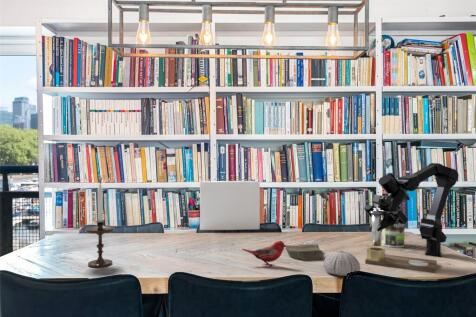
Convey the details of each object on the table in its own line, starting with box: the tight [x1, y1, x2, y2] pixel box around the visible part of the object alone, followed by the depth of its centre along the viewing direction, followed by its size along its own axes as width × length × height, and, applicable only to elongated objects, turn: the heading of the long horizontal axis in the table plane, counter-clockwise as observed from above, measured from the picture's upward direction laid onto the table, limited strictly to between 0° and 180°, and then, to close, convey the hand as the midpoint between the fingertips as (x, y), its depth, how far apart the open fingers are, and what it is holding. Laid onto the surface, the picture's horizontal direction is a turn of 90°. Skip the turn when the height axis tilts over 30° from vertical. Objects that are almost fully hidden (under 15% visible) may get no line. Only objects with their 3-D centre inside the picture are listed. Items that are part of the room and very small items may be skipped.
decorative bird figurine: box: [241, 240, 288, 267], centre depth 152 cm, size 3×18×10 cm, turn 81°
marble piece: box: [285, 243, 323, 261], centre depth 168 cm, size 17×15×4 cm
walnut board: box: [364, 253, 438, 273], centre depth 155 cm, size 13×25×2 cm, turn 60°
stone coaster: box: [408, 260, 428, 266], centre depth 150 cm, size 7×7×1 cm
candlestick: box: [85, 176, 116, 269], centre depth 154 cm, size 11×11×35 cm
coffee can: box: [381, 216, 405, 249], centre depth 188 cm, size 10×10×14 cm
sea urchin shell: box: [322, 250, 361, 277], centre depth 143 cm, size 13×14×8 cm
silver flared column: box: [370, 211, 383, 247], centre depth 157 cm, size 5×5×14 cm
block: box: [199, 180, 261, 231], centre depth 231 cm, size 35×8×28 cm, turn 96°
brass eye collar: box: [366, 246, 386, 261], centre depth 157 cm, size 7×7×4 cm
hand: (373, 229), depth 156 cm, fingers closed on silver flared column, 4 cm apart
